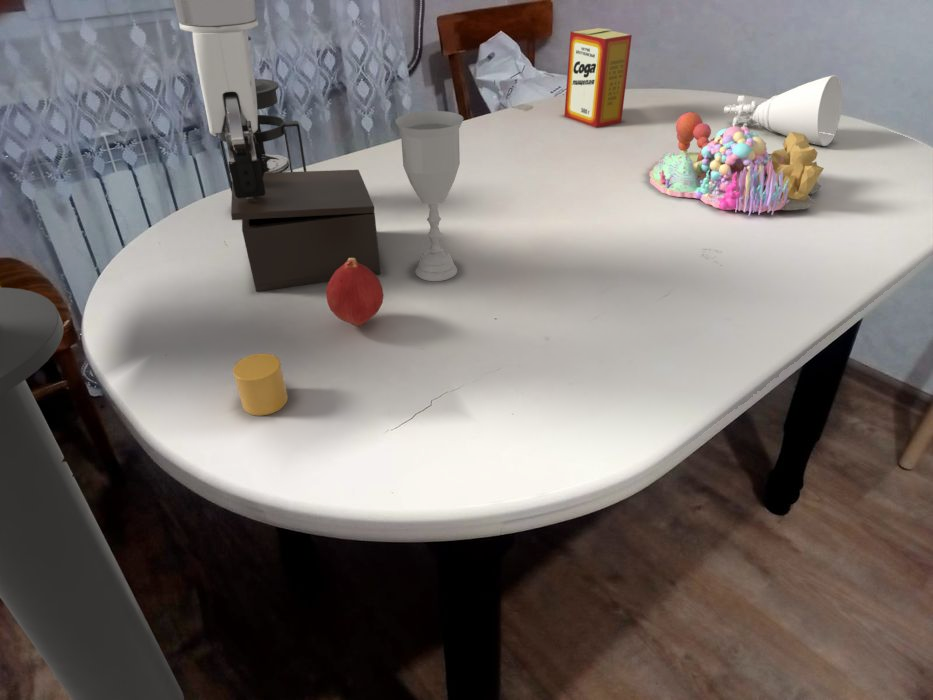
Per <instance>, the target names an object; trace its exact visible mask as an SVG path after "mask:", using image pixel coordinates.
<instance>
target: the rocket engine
mask: <svg viewBox="0 0 933 700" xmlns="http://www.w3.org/2000/svg"><path fill="white" fill-rule="evenodd" d="M842 87H843V86H842V82H841V80H840V77H838V76H837V74H832V75H829V76H824V77H821V78H818V79H815V80H812V81H809V82H807V83H804V84H800V85H799V86H796V87H793V88H791V89H789V90H786V91H784V92H782V93H779V94H778V95H777V94H776V95H773V96H771V97H770V98H768V99H767V100H765V101H762V102H761V103H760V104H758V105H757V101H756V100H752V101H751V104H750V103H749V100H748V98H747V97H746V95H738V96H737V99H736V101H737V104H738V105H736V104H735V103H733V104H732V105H730V104H729V103H728V104H727V105H726V106H724V108H723V113H724V114H735V116H734V117H733V118H732V119H733V121H732V123H731V125H732V126H738V125H740V124H743V125H742V126H741V127H740V128H741V129H742V128H743V127H748V125H751V126H754V125H756V124H758V125H759V126H761V127H764V128H765V129H767V130H768V131H769V132H770V133H774V132H775V133H778V134H780V135H782V136H785V137H787V136H788V135H789V134H790V132H795V133H800V134H804V135H805V136H806V137H807V139H808V142H809V144H812V145H816V146H822V147H827V146H829V145H830V143H832V141H833V139H834V138H835V135H836V133H837V131H838V128H839V124H840V119H841V115H842V109H843V88H842ZM819 132H825V133H831V134H835V135H834V136H833V135H828V134H823V133H819Z"/></svg>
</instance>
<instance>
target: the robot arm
mask: <svg viewBox="0 0 933 700" xmlns="http://www.w3.org/2000/svg"><path fill="white" fill-rule="evenodd" d="M173 2H174V8H175V10H176V11H175V13H176V16H177V20H178V24H179V29H180V31H181V30H182V31H183V32H190V33H191V35H192V36H191V37H192V45H193V51H194V57H195V61H196V62H195V63H196V69H197V73H198V78H199V83H200V89H201V93H202V98H203V103H204V109H205V114H206V119H207V125H208V130H209V134H210V135H212V136H213V137H218V133H221V132H222V127H223V126H224V131H225V137H226V142H225V143H226V148H227V152H228V158H229V161H228V166H229V167H230V170H229V171H230V172H231V173H230V175H231V179H232V181H233V186H234V191H235V196H236V197H237V198H247V197H257V196H264V195H265V187H264V182H263V176H264V172H263V167H262V161H261V156H260V150H259V144H258V143H254V142H256V139H255V132H256V131H257V129H258V116H257V115H258V110H257V96H256V87H255V79H256V78H255V73H254V66H253V60H252V59H253V58H252V53H251V47H250V40H248V36H249V34H248V30H251V29H254V28H256V27H258V26H259V21H258V13H257V8H256V3H255V0H173Z"/></svg>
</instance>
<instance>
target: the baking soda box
mask: <svg viewBox="0 0 933 700" xmlns="http://www.w3.org/2000/svg"><path fill="white" fill-rule="evenodd" d="M631 44H632V34H629V33H624V32H619V31H615V30H612V29H611V28H601V27H594V28H588V29H587V28H586V29H580V30H573V31H570V34H569V45H568V46H569V47H568V48H569V49H568V60H567V73H566V89H565V103H564V116H563V117H565V118H568V119H571V120H574V121H577V122H579V123H582V124H585V125H588V126H591V127H594V128H596V129H597V128H601V127H607V126H610V125H614V124H618V123H622V121H623V111H624V102H625V95H626V88H627V87H626V86H627V79H628V78H627V77H628V69H629V62H630V53H631V46H632V45H631Z"/></svg>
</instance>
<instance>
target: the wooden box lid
mask: <svg viewBox="0 0 933 700" xmlns="http://www.w3.org/2000/svg"><path fill="white" fill-rule="evenodd" d="M263 182H264V187H265V195H264V196H257V197H247V198H237V197H236V196H235V191H234V186H233V181H232V192H231V206H230V216H231V220H232V221H242V220H245V219H265V218H284V217H303V216H323V215H342V214H362V213H375V205H374V203H373V200H372V198H371V195H370V193H369V191H368V189H367V186H366V184H365V181H364V179H363V177H362V175H361V172H360V170H359V169H336V170H335V169H334V170H333V169H332V170H306V171H304V170H303V171H293V172H291V171H283V172H273V173H264V176H263Z"/></svg>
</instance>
